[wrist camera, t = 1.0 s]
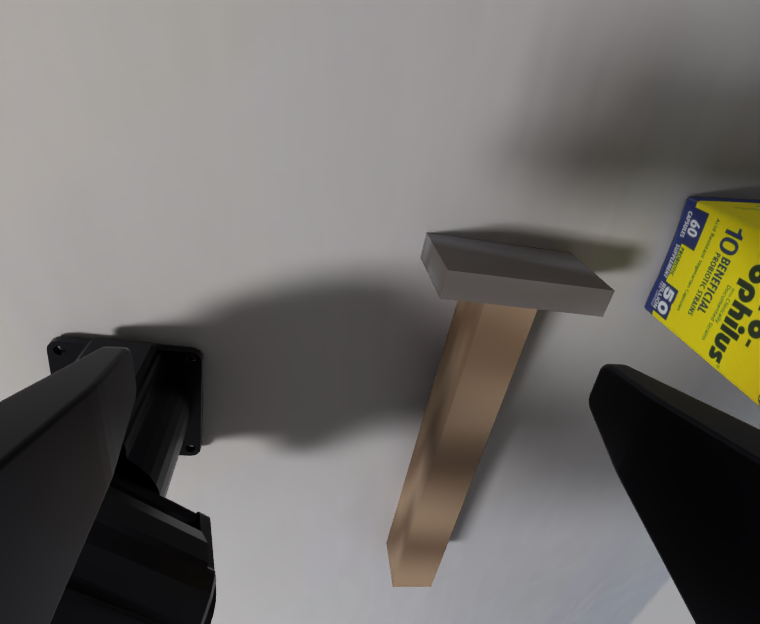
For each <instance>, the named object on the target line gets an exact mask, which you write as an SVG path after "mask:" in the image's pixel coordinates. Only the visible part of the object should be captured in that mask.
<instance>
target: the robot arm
mask: <svg viewBox="0 0 760 624" xmlns="http://www.w3.org/2000/svg"><path fill="white" fill-rule="evenodd" d="M58 346H61V347H63V348H64V349H65V350H61V349H59V348H58ZM47 354H48V360H49V366H50V372H51V375H49V376H47V377H46V378H44V379H42V380H40V381H38V382H36V383H34V384H32V385H31V386H29V387H27V388H25V389H23V390H21V391H19V392H17V393H16V394H14V395H12V396H10V397H8V398H6V399H4V400H2V401H1V402H0V624H211V620H212V617H213V614H214V608H215V602H216V575H215V571H214V559H213V547H212V535H211V523H210V517H208V516H206V515H204V514H202V513H200V512H197V513H194V512H192V511H191V510H189V509H187V508H185V507H183V506H181V505H179V504H177V503H175V502H173V501H171V500H169V499H167V498H165V497H166V494H167V491H168V487H169V484H170V481H171V478H172V475H173V472H174V469H175V465H176V462H177V459H178V456H179V455H188V456H191V455H196V454H198V453H199V452H200V449H201V445H202V413H203V354H202V352H201V351H200V350H198V349H197V348H193V347H181V346H169V345H158V344H152V343H147V342H135V341H123V340H112V339H100V338H94V339H87V338H76V337H64V336H60V337H56V338H54V339H53V340H52V341H51V342H50V343H49V345H48V346H47ZM187 357H193V358H195V359H196V360H195V361H191V360H189V359H188V358H187ZM589 406H590V410H591V412H592V415H593V417H594V420H595V422H596V424H597V427H598V429H599V432H600V434H601V437H602V439H603V442H604V444H605V447H606V449H607V451H608V454H609V456H610V459H611V461H612V464H613V466H614V468H615V470H616V473H617V475H618V477H619V479H620V481H621V483H622V485H623V487H624V489H625V490H626V492H627V494H628V496H629V498H630V500H631V502H632V504H633V506H634V507H635V509H636V511H637V513H638V515H639V517H640V519H641V521H642V523H643V525H644V526H645V528H646V530H647V532H648V534H649V536H650V538H651V540H652V542H653V543H654V545H655V547H656V549H657V551H658V553H659V555H660V557H661V559H662V561H663V562H664V564H665V566H666V568H667V570H668V572H669V574H670V576H671V578H672V579H673V581H674V583H675V585H676V587H677V589H678V591H679V593H680V595H681V596H682V598H683V600H684V602H685V604H686V606H687V608H688V610H689V611H690V614H691V615H692V617H693V619H694V621H695V623H696V624H760V430H759V429H757V428H755V427H753V426H751V425H749V424H747V423H745V422H743V421H741V420H739V419H737V418H735V417H732V416H730V415H728V414H726V413H724V412H722V411H720V410H718V409H716V408H714V407H712V406H710V405H708V404H706V403H703V402H701V401H699V400H697V399H695V398H693V397H691V396H689V395H687V394H685V393H683V392H681V391H679V390H676V389H674V388H672V387H670V386H668V385H666V384H664V383H662V382H660V381H658V380H656V379H654V378H652V377H650V376H647V375H645V374H643V373H641V372H639V371H637V370H635V369H633V368H631V367H629V366H626V365H622V364H606V365H604V366H603V367H602V368H601V369H600V371H599V374H598V376H597V379H596V381H595V384H594V386H593V389H592V391H591V393H590V396H589ZM189 445H193V447H192V446H189Z"/></svg>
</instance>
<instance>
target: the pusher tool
mask: <svg viewBox="0 0 760 624" xmlns="http://www.w3.org/2000/svg"><path fill="white" fill-rule="evenodd" d="M421 260H422V262H423V264H424V266H425V268H426V270H427V272H428V274H429V276H430V278H431V280H432V283H433V285H434V287H435V289H436V291H437V293H438V295H439V297H440V299H449V300H458V302H457V305H456V309H455V312H454V315H453V319H452V322H451V326H450V329H449V332H448V336H447V339H446V343H445V346H444V349H443V353H442V356H441V360H440V363H439V366H438V370H437V373H436V377H435V380H434V383H433V387H432V390H431V394H430V397H429V400H428V404H427V407H426V411H425V414H424V417H423V421H422V424H421V428H420V431H419V434H418V438H417V441H416V445H415V448H414V451H413V455H412V458H411V462H410V465H409V468H408V472H407V475H406V479H405V482H404V485H403V489H402V492H401V496H400V499H399V502H398V506H397V509H396V513H395V516H394V519H393V523H392V526H391V530H390V533H389V536H388V540H387V550H388V557H389V564H390V571H391V578H392V584H393V587H426V586H431V585H432V583H433V580H434V578H435V575H436V572H437V570H438V567H439V565H440V562H441V559H442V557H443V554H444V552H445V549H446V546H447V544H448V541H449V539H450V536H451V533H452V531H453V528H454V526H455V523H456V520H457V518H458V515H459V513H460V510H461V507H462V505H463V502H464V500H465V497H466V494H467V492H468V489H469V487H470V484H471V481H472V479H473V476H474V474H475V471H476V468H477V466H478V463H479V461H480V458H481V455H482V453H483V450H484V448H485V445H486V442H487V440H488V437H489V435H490V432H491V430H492V427H493V424H494V422H495V419H496V417H497V414H498V411H499V409H500V406H501V404H502V401H503V398H504V396H505V393H506V391H507V388H508V385H509V383H510V380H511V378H512V375H513V372H514V370H515V367H516V365H517V362H518V359H519V357H520V354H521V352H522V349H523V346H524V344H525V341H526V339H527V336H528V333H529V331H530V328H531V326H532V323H533V320H534V318H535V315H536V313H537V310H538V309H539V310H548V311H557V312H566V313H575V314H584V315H593V316H602V317H603V315H604V313H605V311H606V308H607V306H608V304H609V302H610V300H611V298H612V295H613V293H614V290H613V289H612V288H611V287H610V286H608V285H607V284H606V283H605V282H604V281H603V280H602V279H600V278H599V277H598V276H597V275H596V274H595V273H593V272H592V271H591V270H590V269H589V268H588V267H586V266H585V265H584V264H583V263H582V262H581V261H579V260H578V259H577V258H576V257H575V256H574V255H572V254H571V253H568V252H561V251H554V250H547V249H540V248H533V247H526V246H518V245H511V244H504V243H497V242H490V241H483V240H475V239H468V238H461V237H454V236H447V235H440V234H432V233H426V237H425V241H424V246H423V250H422V254H421Z"/></svg>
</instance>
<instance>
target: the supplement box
mask: <svg viewBox="0 0 760 624" xmlns="http://www.w3.org/2000/svg"><path fill="white" fill-rule="evenodd" d="M645 309H646V310H647V311H649V312H650V313H651V314H652V315H653V316H654V317H655V318H657V319H658V320H659V321H660V322H661V323H663V324H664V325H665V326H666V327H667V328H668V329H670V330H671V331H672V332H673V333H674V334H675V335H677V336H678V337H679V338H680V339H681V340H683V341H684V342H685V343H686V344H687V345H688V346H689V347H690V348H692V349H693V350H694V351H695V352H696V353H698V354H699V355H700V356H701V357H702V358H703V359H705V360H706V361H707V362H708V363H709V364H710V365H711V366H713V367H714V368H715V369H716V370H717V371H719V372H720V373H721V374H722V375H723V376H724V377H726V378H727V379H728V380H729V381H730V382H732V383H733V384H734V385H735V386H736V387H738V388H739V389H740V390H741V391H742V392H743V393H744V394H746V395H747V396H748V397H749V398H750V399H751V400H753V401H754V402H755V403H756V404H757V405H759V406H760V200H743V199H725V198H705V197H689V198H688V199H687V201H686V204H685V206H684V209H683V211H682V215H681V219H680V222H679V225H678V228H677V231H676V233H675V236H674V238H673V241H672V243H671V246H670V248H669V251H668V253H667V256H666V258H665V261H664V263H663V265H662V268H661V270H660V273H659V276H658V278H657V280H656V282H655V284H654V286H653V288H652V290H651V292H650V294H649V297H648V300H647V302H646V305H645Z"/></svg>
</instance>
